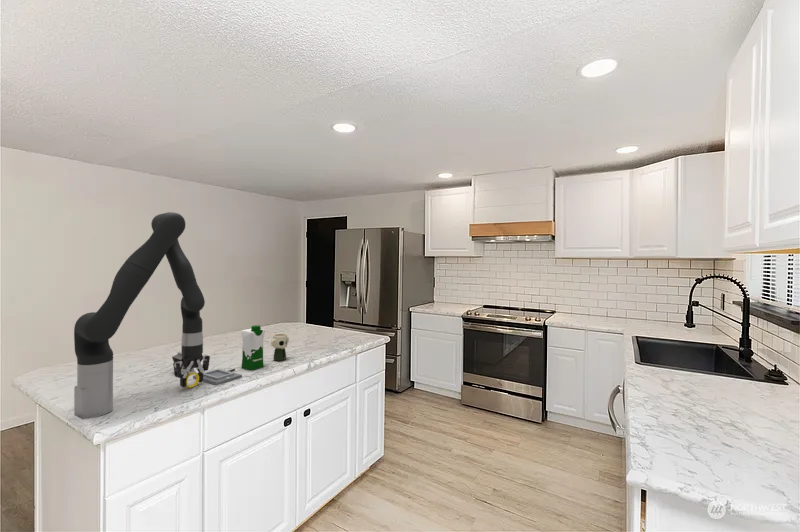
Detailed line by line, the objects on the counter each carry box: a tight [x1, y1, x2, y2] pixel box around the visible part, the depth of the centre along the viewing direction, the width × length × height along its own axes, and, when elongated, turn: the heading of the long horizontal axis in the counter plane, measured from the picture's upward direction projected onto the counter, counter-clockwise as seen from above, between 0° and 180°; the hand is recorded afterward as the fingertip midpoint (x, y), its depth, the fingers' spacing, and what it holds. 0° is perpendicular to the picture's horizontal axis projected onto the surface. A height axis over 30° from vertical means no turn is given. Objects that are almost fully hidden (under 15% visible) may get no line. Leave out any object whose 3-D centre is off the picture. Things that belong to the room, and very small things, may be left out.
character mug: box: [270, 332, 290, 361], centre depth 188 cm, size 11×7×13 cm, turn 149°
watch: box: [185, 370, 199, 389], centre depth 148 cm, size 6×3×6 cm, turn 160°
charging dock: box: [192, 368, 243, 386], centre depth 162 cm, size 17×16×2 cm
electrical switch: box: [171, 351, 196, 375], centre depth 164 cm, size 9×5×9 cm, turn 57°
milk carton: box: [240, 324, 266, 371], centre depth 175 cm, size 9×9×20 cm
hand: (191, 384), depth 148 cm, fingers closed on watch, 6 cm apart
